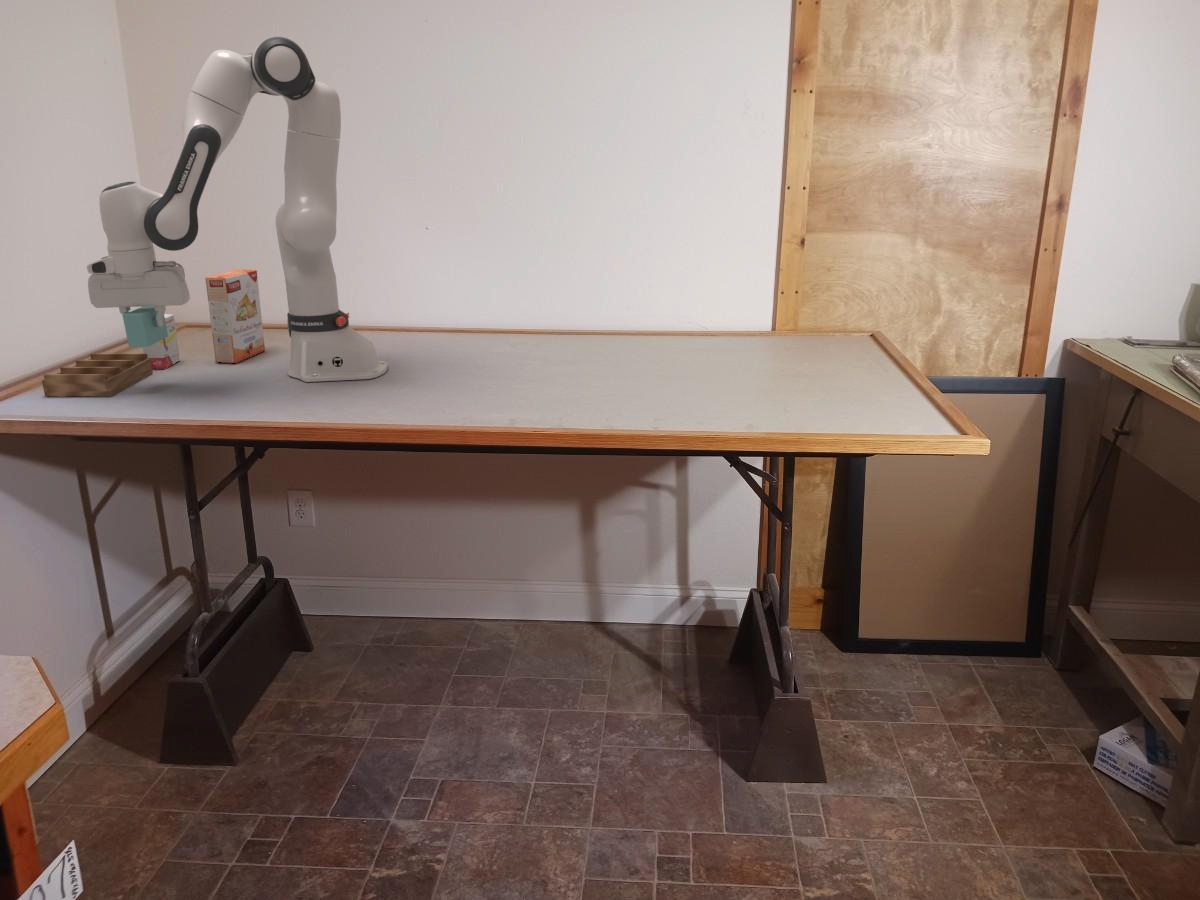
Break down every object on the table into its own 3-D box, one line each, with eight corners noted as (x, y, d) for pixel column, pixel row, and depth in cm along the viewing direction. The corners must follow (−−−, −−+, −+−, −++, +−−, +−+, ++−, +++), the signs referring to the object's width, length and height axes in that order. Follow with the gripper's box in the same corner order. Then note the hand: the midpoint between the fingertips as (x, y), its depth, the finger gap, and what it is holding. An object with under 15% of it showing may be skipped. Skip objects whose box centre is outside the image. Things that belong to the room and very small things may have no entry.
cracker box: (237, 364, 234) (226, 277, 227) (214, 363, 235) (202, 276, 229) (267, 351, 247) (257, 268, 240) (245, 350, 248) (235, 268, 242)
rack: (152, 373, 226) (149, 353, 225) (110, 396, 208) (106, 374, 206) (92, 373, 227) (88, 353, 225) (45, 396, 208) (40, 375, 206)
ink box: (165, 369, 230) (157, 320, 226) (144, 369, 230) (136, 320, 226) (181, 361, 238) (174, 313, 234) (162, 361, 238) (154, 313, 234)
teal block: (168, 336, 216) (162, 305, 213) (147, 347, 206) (141, 314, 204) (150, 337, 216) (144, 305, 213) (129, 347, 206) (122, 315, 204)
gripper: (188, 258, 208) (199, 322, 212) (94, 261, 208) (107, 324, 213) (175, 262, 202) (187, 328, 207) (78, 266, 202) (92, 331, 207)
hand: (146, 326), depth 210 cm, fingers closed on teal block, 4 cm apart
